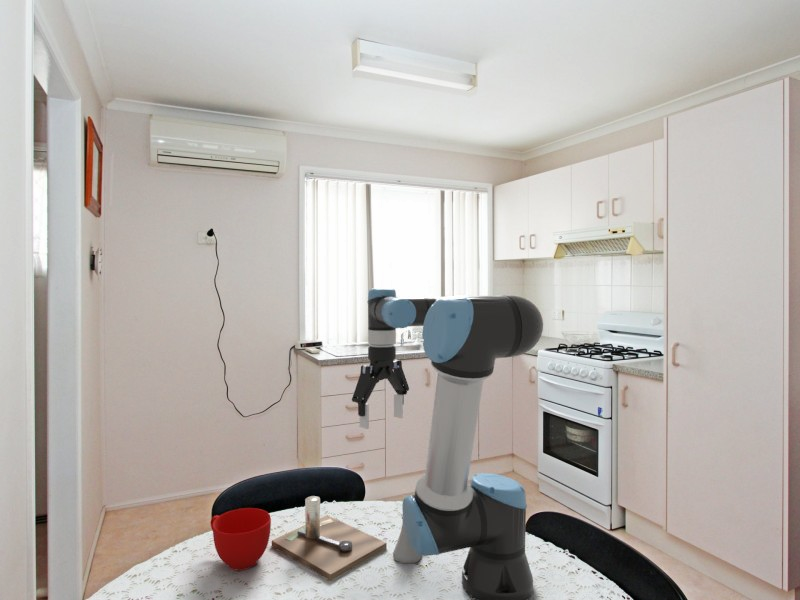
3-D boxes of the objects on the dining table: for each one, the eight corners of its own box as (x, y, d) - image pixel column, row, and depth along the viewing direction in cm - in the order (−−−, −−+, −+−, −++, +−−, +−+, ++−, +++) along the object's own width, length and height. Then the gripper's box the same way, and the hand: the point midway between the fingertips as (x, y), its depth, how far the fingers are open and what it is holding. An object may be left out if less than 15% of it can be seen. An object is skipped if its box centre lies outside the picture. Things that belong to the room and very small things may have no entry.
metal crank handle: (355, 547, 124) (355, 507, 124) (346, 554, 121) (346, 513, 121) (303, 530, 133) (303, 492, 132) (294, 536, 129) (293, 497, 129)
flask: (420, 566, 120) (420, 523, 119) (389, 562, 121) (389, 520, 121) (425, 549, 127) (425, 509, 126) (396, 546, 128) (396, 507, 128)
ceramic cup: (233, 538, 132) (233, 499, 132) (282, 557, 123) (282, 515, 123) (189, 562, 121) (188, 520, 120) (240, 585, 112) (240, 539, 112)
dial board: (386, 548, 127) (386, 542, 127) (330, 581, 114) (330, 573, 114) (327, 520, 142) (327, 514, 142) (271, 546, 128) (271, 539, 128)
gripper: (401, 339, 153) (401, 410, 154) (338, 348, 134) (338, 429, 135) (421, 341, 148) (421, 415, 149) (358, 351, 129) (358, 435, 130)
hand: (381, 422), depth 142 cm, fingers open, 13 cm apart
